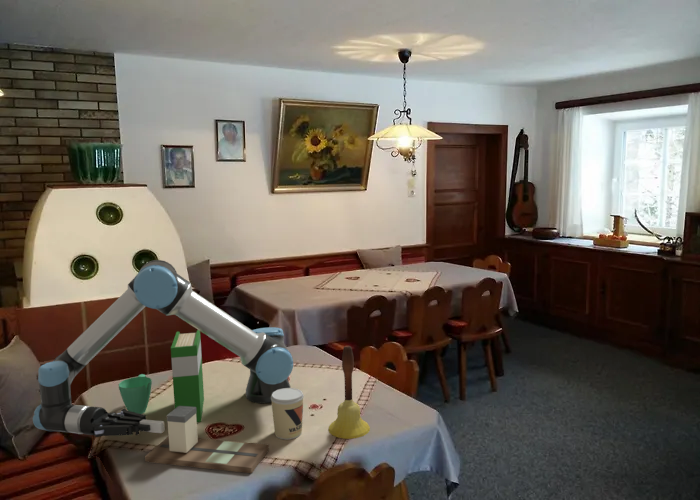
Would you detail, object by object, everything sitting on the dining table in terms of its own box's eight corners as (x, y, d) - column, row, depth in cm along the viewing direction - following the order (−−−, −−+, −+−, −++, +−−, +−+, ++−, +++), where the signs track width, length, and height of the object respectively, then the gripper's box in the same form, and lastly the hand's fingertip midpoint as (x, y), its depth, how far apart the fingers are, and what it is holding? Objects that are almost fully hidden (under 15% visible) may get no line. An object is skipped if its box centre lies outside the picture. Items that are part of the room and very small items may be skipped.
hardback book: (181, 401, 181) (176, 331, 178) (204, 399, 183) (200, 329, 180) (175, 424, 164) (170, 348, 161) (201, 421, 166) (196, 346, 162)
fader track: (145, 461, 143) (144, 456, 143) (169, 440, 155) (169, 434, 154) (251, 473, 136) (251, 467, 136) (269, 449, 148) (268, 444, 148)
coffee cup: (291, 444, 151) (289, 402, 149) (265, 436, 156) (263, 396, 154) (311, 430, 159) (309, 391, 157) (285, 423, 164) (284, 385, 162)
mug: (150, 417, 169) (148, 386, 168) (117, 420, 168) (114, 389, 167) (159, 398, 184) (157, 370, 182) (129, 401, 182) (126, 372, 181)
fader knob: (169, 451, 144) (166, 415, 143) (181, 440, 150) (178, 405, 149) (186, 452, 143) (184, 417, 142) (198, 441, 149) (196, 407, 148)
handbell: (337, 442, 151) (335, 356, 148) (322, 424, 163) (319, 343, 159) (377, 433, 156) (376, 349, 153) (359, 416, 167) (358, 337, 164)
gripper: (103, 422, 159) (176, 429, 154) (72, 443, 147) (150, 452, 141) (101, 398, 158) (174, 404, 153) (69, 417, 146) (148, 424, 140)
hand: (162, 427), depth 147 cm, fingers closed
